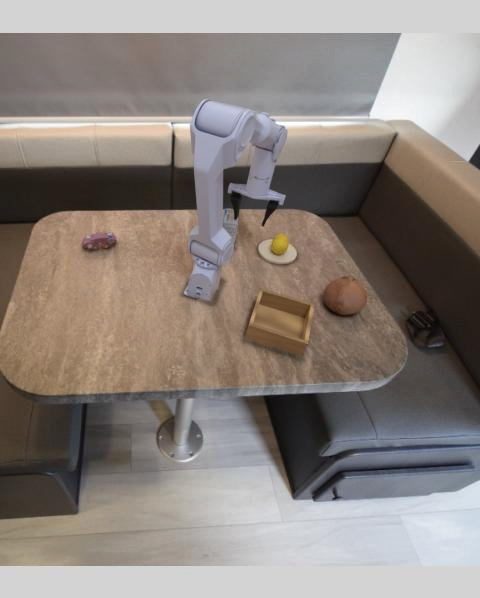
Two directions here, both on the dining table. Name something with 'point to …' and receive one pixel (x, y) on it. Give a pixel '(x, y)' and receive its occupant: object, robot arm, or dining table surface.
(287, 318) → the crate
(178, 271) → the dining table surface
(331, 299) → the onion
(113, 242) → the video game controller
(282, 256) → the plate
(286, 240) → the lemon
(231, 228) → the medicine box
